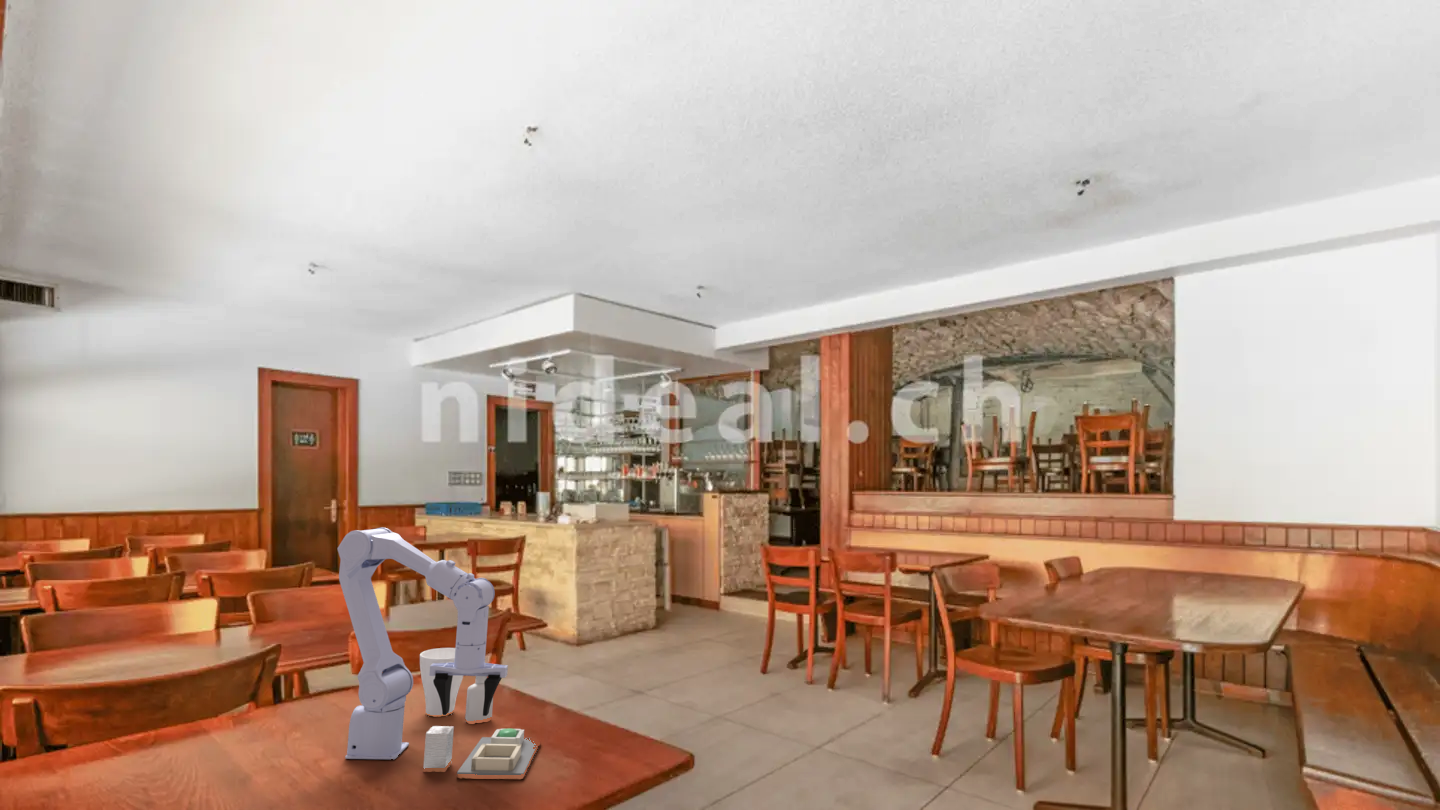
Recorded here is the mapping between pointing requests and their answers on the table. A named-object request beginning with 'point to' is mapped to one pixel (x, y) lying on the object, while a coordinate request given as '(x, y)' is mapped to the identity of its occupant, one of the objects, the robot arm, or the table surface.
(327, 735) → the table surface
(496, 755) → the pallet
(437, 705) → the cup
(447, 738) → the block
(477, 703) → the eye dropper bottle
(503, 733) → the button
